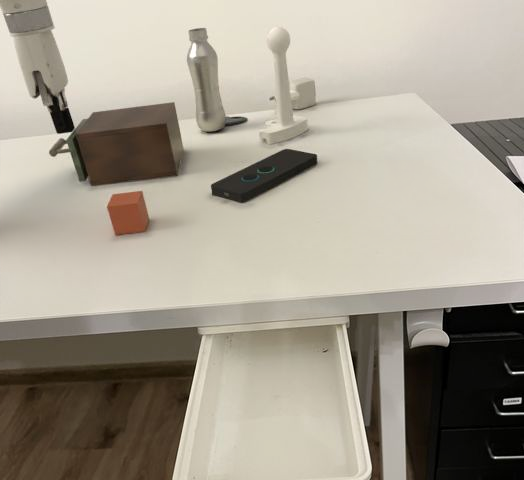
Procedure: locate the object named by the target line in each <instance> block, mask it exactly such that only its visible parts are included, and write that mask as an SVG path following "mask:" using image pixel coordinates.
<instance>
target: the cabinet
mask: <svg viewBox="0 0 524 480" xmlns="http://www.w3.org/2000/svg"><path fill="white" fill-rule="evenodd" d="M86 119H87V121H86V122H85V123H84V124H83V126H82V127H81V128H80V130H79V131H78V132H77V133H76V138H77V141H78V144H79V147H80V150H81V154H82V157H83V160H84V163H85V166H86V170H87V173H88V179H89V182H90V185H91V186H90V187H94V186H103V185H109V184H110V185H112V184H119V183H127V182H135V181H145V180H152V179H161V178H168V177H177V176H178V175H179V171H180V168H181V163H182V160H183V155H184V153H185V152H184V151H185V148H184V144H183V139H182V134H181V129H180V123H179V119H178V114H177V108H176V102H175V101H172V102H164V103H156V104H147V105H140V106H132V107H124V108H116V109H109V110H101V111H93V112H92V113H91V114H90V115H89V117H88V118H86Z"/></svg>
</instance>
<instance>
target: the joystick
mask: <svg viewBox="0 0 524 480" xmlns="http://www.w3.org/2000/svg"><path fill="white" fill-rule="evenodd" d="M266 44H267V47H268V49H269V51H271V53H272V56H273V69H274V91H275V92H274V93H275V96H276V101H275V115H276V116H275V117H276V119H270V120H268V121H266V122H265V123H264V125H265V128H261V129H259V130H258V134H259V140H261V141H265V143H266V144H268V145H274V144H277V143H281V142H285V141H288V140H291V139H293V138H295V137H298V136H300V135H302V134H303V133H305V132H307V131H308V130H309V120H308V117H304V116H298V115H297V116H296V115H294V111H293V108H292V103H291V95H290V87H289V82H290V80H289V71H288V63H287V51H288V49H289V47H290V45H291V36H290V33H289V31H288V30H287V29H286V28H284V27H283V26H276V27H273V28H272V29H270V31H268V34H267V37H266Z"/></svg>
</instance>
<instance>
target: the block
mask: <svg viewBox="0 0 524 480" xmlns="http://www.w3.org/2000/svg"><path fill="white" fill-rule="evenodd" d="M106 209H107V212H108V215H109V219H110V222H111V225H112V229H113V232H114V235H115V236H120V235H128V234H137V233H145V232H146V231H147V227H148V224H149V220H150V216H149V212H148V207H147V204H146V201H145V196H144V192H143V190H136V191H129V192H128V191H127V192H120V193H119V192H118V193H112V194H111V196H110V199H109V201H108V202H107V205H106Z"/></svg>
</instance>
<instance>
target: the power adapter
mask: <svg viewBox="0 0 524 480" xmlns="http://www.w3.org/2000/svg"><path fill="white" fill-rule="evenodd" d="M289 87H290V95H291V103H292V109H293V110H303V109H306V108H310V107H313V106H314V105H316V102H317V94H316V81H315V79H314V78H309V77H302V78H298V79H295V80H291V81H289ZM268 99H269V101H275V102H276V95H274V96H273V95H272V96H270V97H269V98H268Z"/></svg>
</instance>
